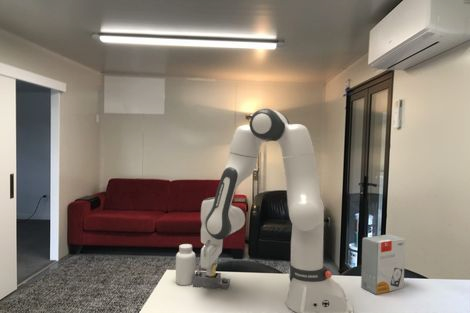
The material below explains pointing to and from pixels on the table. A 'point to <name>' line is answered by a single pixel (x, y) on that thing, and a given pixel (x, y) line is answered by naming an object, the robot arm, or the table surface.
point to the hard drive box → (382, 263)
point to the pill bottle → (185, 265)
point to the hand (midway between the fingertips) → (211, 271)
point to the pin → (212, 271)
